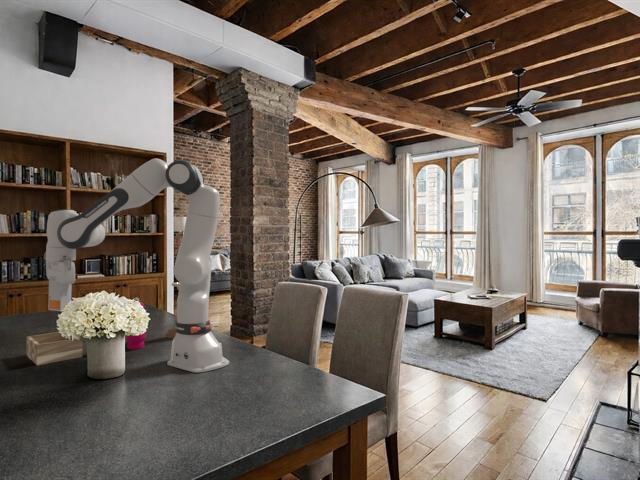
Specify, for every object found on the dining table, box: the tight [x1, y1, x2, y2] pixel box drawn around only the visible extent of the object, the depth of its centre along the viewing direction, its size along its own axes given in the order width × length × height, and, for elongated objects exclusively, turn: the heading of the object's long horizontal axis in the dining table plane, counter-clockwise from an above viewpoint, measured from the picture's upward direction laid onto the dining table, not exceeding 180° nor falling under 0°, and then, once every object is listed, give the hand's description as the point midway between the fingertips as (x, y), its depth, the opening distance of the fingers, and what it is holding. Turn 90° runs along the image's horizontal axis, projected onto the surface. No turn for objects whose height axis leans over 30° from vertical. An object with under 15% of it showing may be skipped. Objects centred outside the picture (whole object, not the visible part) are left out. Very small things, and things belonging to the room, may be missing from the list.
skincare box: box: [47, 276, 73, 312], centre depth 141 cm, size 6×4×12 cm
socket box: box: [25, 331, 84, 366], centre depth 148 cm, size 16×14×7 cm
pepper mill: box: [125, 297, 147, 350], centre depth 161 cm, size 7×7×20 cm
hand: (60, 294), depth 142 cm, fingers closed on skincare box, 7 cm apart
